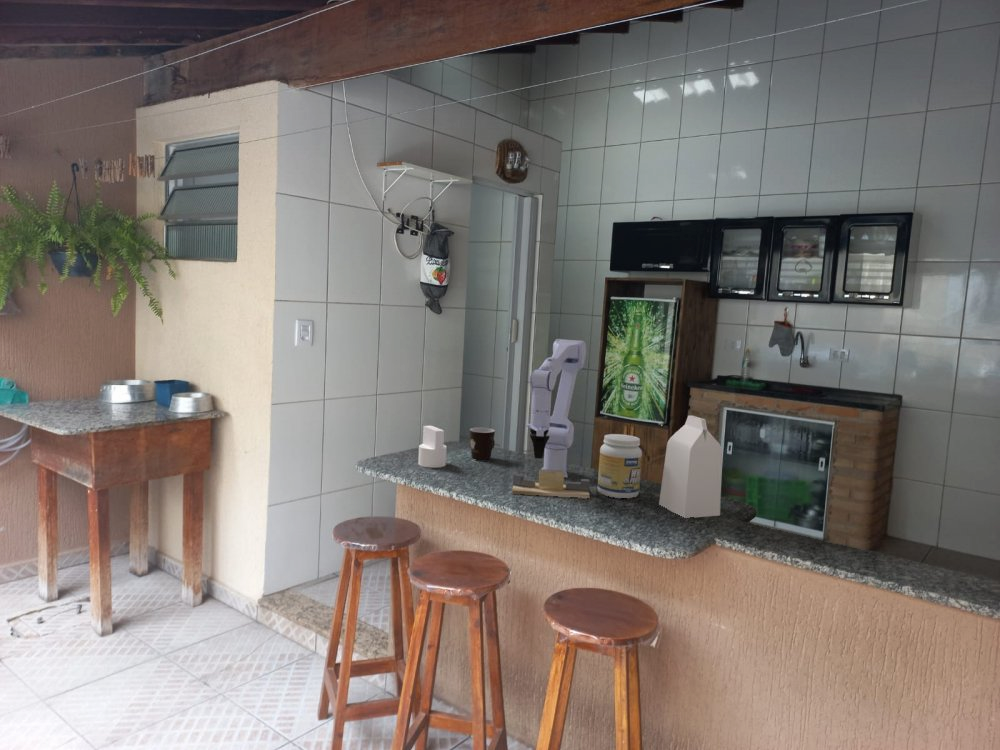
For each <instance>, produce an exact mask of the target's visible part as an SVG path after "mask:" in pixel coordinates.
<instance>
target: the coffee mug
mask: <svg viewBox="0 0 1000 750" xmlns="http://www.w3.org/2000/svg"><path fill="white" fill-rule="evenodd" d="M495 432H496V431H495V429H493V428H489V427H473V428H470V429H469V435H470V439H469V440H470V449H471V459H472V458H473V459H476V460H475V461H478V460H487V461H490V460H491V458H492V457H491V456H492V451H493V450H494V447H495V439H494V437H495ZM473 459H472V460H473ZM489 459H490V460H489Z"/></svg>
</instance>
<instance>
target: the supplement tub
mask: <svg viewBox="0 0 1000 750" xmlns="http://www.w3.org/2000/svg"><path fill="white" fill-rule="evenodd" d="M603 437H604V438H603V444H601V446H600V449H599V460H598V461H599V463H598V476H597V491H598V492H599V494H601V495H603V496H605V497H608V496H609V497H610V498H613V497H614V498H613V499H621V498H627V499H633V497H634V498H636V497H638V496H639V492H640V483H641V473H642V472H641V471H642V458H643V450H642V448H641V447H639V446H640V445H641V439H640V438H639V437H637V436H634V435H631V434H629V435H628V434H619V433H610V434H605V435H604V436H603Z"/></svg>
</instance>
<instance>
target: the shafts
mask: <svg viewBox="0 0 1000 750" xmlns="http://www.w3.org/2000/svg"><path fill="white" fill-rule="evenodd" d="M512 476H513V477H512V486H513V485H516V486H524V487H530V488H534V487H535V483H536V481H537V480H536V479H534V478H527V477H525V474H524V473H514V474H513V475H512ZM590 483H591V482H590V478H581V479H580V482H579V481H567V480H566V482H565V484H566V490H575V491H588V492H589V493H590V487H591V485H590Z"/></svg>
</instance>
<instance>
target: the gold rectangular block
mask: <svg viewBox="0 0 1000 750" xmlns="http://www.w3.org/2000/svg"><path fill="white" fill-rule="evenodd" d="M538 470H539V472H538V483H539V489H542V490H559V491H563V484H564V479H565V477H564V472H563V470H548V469H542V468H539V469H538Z"/></svg>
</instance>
